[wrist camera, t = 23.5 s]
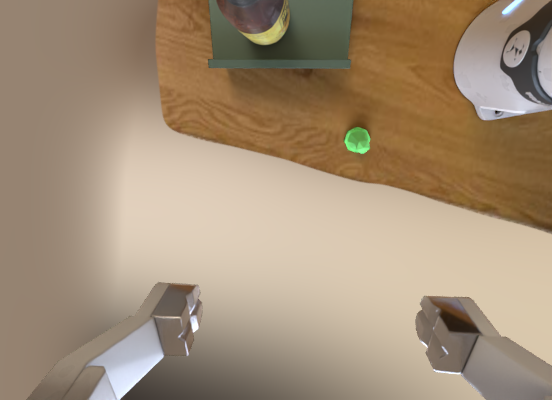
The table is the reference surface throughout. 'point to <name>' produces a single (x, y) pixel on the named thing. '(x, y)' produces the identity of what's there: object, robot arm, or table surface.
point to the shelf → (288, 38)
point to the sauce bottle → (257, 18)
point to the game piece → (357, 140)
